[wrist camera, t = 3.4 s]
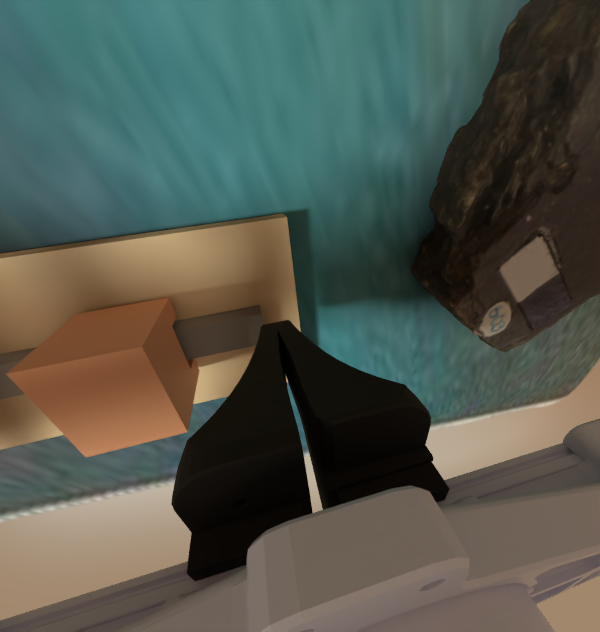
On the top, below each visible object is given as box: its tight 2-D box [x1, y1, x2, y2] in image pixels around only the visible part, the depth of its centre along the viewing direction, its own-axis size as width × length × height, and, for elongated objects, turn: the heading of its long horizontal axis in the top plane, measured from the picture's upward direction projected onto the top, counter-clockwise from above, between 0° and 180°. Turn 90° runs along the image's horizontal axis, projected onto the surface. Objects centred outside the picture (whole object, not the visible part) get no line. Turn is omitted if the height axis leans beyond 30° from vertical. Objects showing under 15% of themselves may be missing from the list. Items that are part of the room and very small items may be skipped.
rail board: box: [0, 214, 301, 450], centre depth 12 cm, size 20×10×4 cm, turn 95°
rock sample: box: [411, 0, 600, 352], centre depth 13 cm, size 18×16×5 cm
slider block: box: [6, 298, 199, 457], centre depth 11 cm, size 4×5×4 cm
